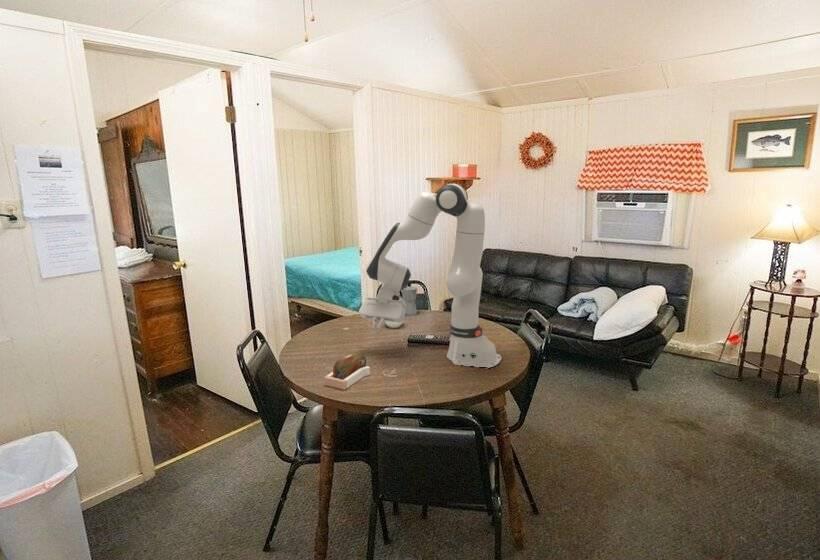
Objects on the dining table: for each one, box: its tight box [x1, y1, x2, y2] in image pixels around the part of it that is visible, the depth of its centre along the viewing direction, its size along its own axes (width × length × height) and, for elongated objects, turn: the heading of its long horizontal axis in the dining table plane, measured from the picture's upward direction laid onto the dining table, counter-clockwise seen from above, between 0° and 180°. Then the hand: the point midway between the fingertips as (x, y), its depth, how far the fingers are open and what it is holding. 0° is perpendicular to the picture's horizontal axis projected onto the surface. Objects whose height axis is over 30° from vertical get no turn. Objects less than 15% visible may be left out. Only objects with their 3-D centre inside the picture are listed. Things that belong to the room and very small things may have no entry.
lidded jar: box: [384, 319, 405, 329], centre depth 223 cm, size 11×11×9 cm
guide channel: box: [323, 365, 371, 391], centre depth 164 cm, size 12×16×3 cm
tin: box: [332, 352, 367, 380], centre depth 166 cm, size 15×3×8 cm, turn 140°
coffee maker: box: [399, 281, 418, 317], centre depth 244 cm, size 15×9×18 cm, turn 45°
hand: (375, 328), depth 181 cm, fingers closed
